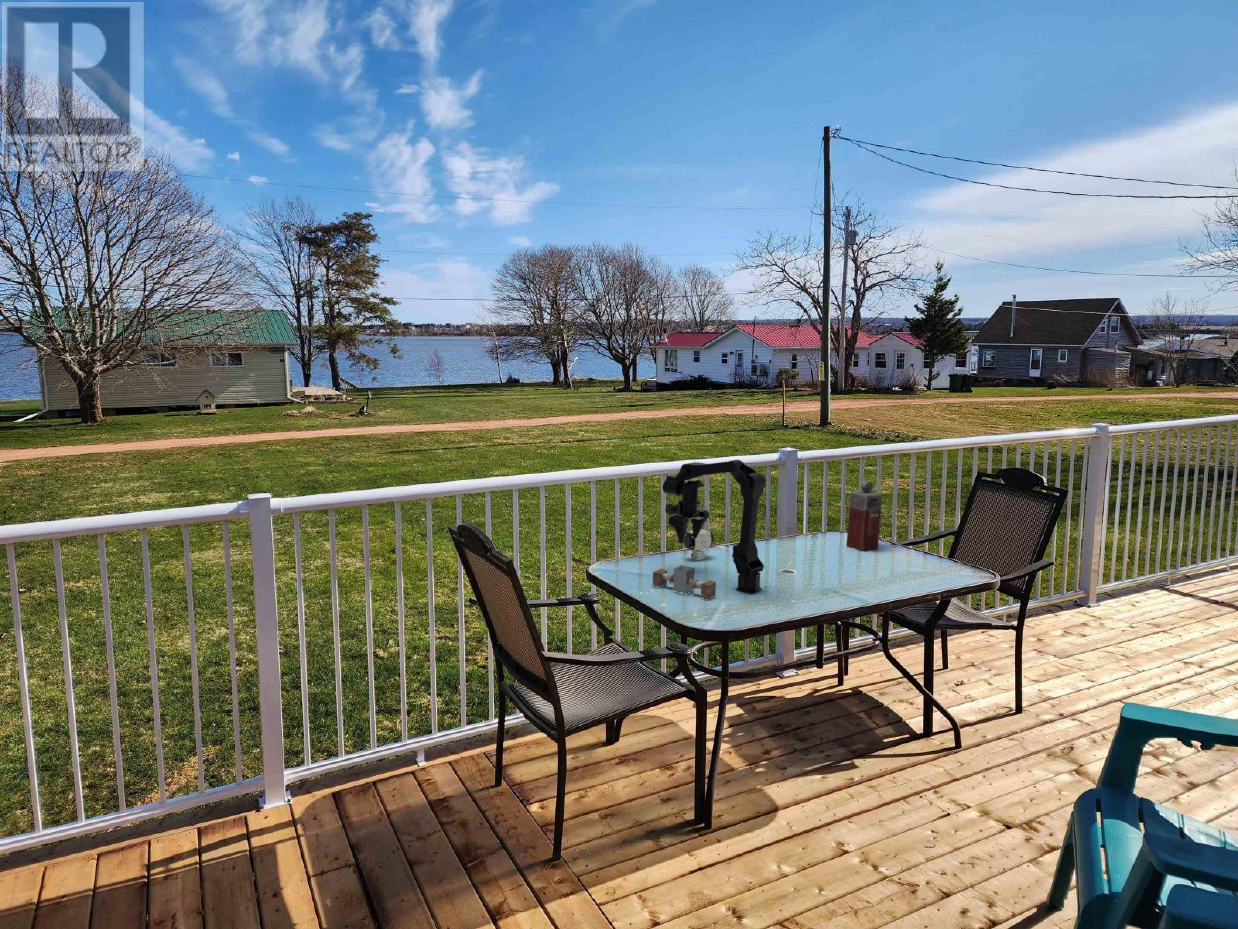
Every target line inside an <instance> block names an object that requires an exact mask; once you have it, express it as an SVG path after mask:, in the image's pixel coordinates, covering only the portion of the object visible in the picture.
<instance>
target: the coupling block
mask: <svg viewBox="0 0 1238 929" xmlns="http://www.w3.org/2000/svg"><path fill="white" fill-rule="evenodd" d="M673 574H674V580H673V583H672V586H673V588H672V591H673V590H674V591H677V592H683V593H688V592H691V591H693V590H694V591H695V589H694V588H693V587H692V583H693V581H694V580H695V567H691V566H687V565H682V564H681V565H679V566H677V567H674V568H673ZM694 591H693V592H694ZM691 593H692V592H691Z"/></svg>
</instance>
